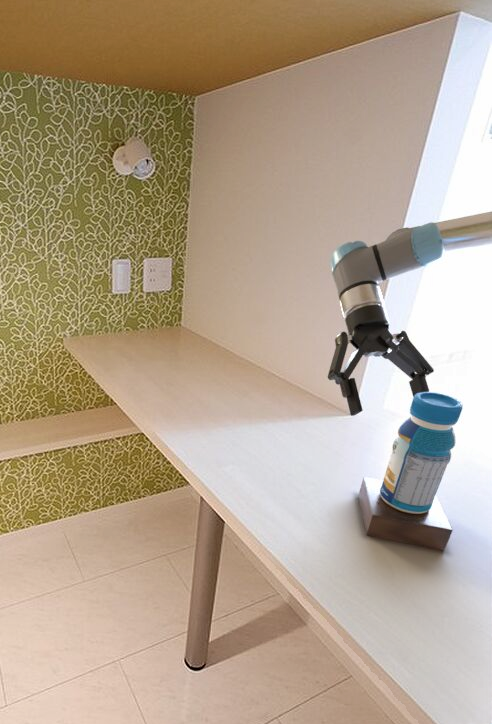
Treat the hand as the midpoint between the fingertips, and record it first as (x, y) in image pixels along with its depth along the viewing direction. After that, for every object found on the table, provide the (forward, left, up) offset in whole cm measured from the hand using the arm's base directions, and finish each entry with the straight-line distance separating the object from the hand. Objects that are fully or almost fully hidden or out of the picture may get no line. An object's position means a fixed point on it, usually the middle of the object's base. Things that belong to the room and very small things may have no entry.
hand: (391, 412), depth 81 cm
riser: (-4, +9, -18) cm, 20 cm away
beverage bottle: (-4, +9, -13) cm, 16 cm away
